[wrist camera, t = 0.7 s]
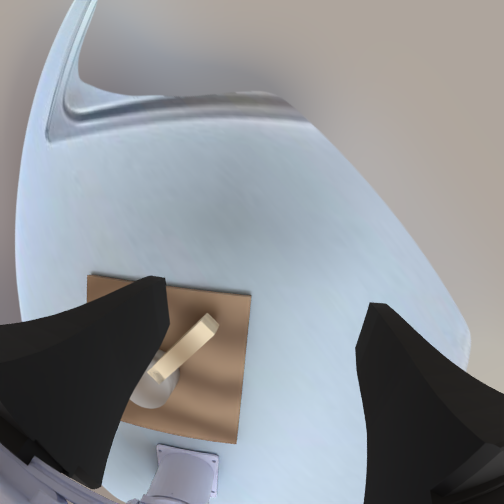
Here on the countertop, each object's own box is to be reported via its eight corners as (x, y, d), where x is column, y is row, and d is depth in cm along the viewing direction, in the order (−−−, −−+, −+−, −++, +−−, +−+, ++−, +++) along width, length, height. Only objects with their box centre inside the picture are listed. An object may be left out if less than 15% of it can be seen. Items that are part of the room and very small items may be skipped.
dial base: (236, 439, 29) (236, 445, 27) (100, 409, 29) (96, 413, 28) (251, 295, 28) (250, 297, 27) (92, 274, 29) (86, 275, 27)
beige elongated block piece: (160, 398, 27) (148, 416, 23) (127, 366, 27) (111, 380, 23) (233, 334, 27) (229, 348, 23) (196, 297, 27) (186, 305, 23)
